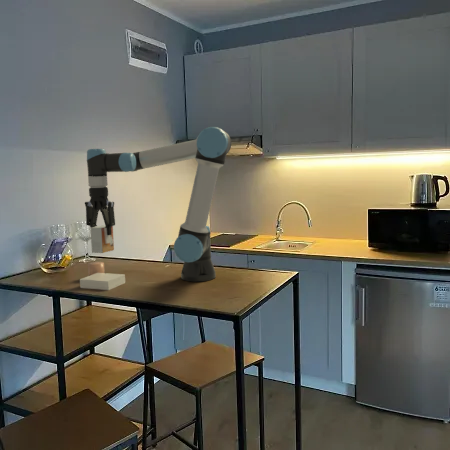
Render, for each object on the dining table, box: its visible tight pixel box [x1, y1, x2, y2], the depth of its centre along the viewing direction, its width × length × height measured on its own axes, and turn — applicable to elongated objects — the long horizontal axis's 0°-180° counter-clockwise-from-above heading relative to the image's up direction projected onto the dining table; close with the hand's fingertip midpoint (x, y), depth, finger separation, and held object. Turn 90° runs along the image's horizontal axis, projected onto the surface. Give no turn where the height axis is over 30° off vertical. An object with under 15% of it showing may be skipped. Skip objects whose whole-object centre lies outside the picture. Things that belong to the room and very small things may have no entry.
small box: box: [90, 225, 115, 254], centre depth 190 cm, size 8×6×10 cm
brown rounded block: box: [87, 261, 105, 276], centre depth 203 cm, size 7×7×7 cm
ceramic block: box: [79, 272, 126, 291], centre depth 192 cm, size 14×12×4 cm
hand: (101, 242), depth 190 cm, fingers closed on small box, 6 cm apart
